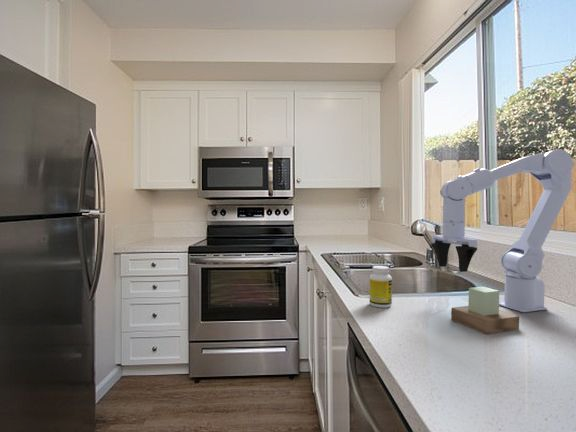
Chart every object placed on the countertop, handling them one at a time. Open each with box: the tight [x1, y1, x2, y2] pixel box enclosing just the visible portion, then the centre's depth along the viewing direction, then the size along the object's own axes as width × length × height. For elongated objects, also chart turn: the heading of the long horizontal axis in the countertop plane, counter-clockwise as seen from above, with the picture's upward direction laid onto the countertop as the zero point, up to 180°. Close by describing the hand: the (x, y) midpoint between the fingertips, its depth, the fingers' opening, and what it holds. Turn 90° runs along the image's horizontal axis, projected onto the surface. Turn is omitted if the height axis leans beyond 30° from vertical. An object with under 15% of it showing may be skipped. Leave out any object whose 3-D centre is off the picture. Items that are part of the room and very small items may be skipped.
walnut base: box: [450, 305, 520, 335], centre depth 81 cm, size 10×10×3 cm
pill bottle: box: [369, 265, 393, 309], centre depth 96 cm, size 6×6×11 cm
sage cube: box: [467, 286, 500, 316], centre depth 81 cm, size 4×4×6 cm
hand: (452, 268), depth 96 cm, fingers open, 7 cm apart
